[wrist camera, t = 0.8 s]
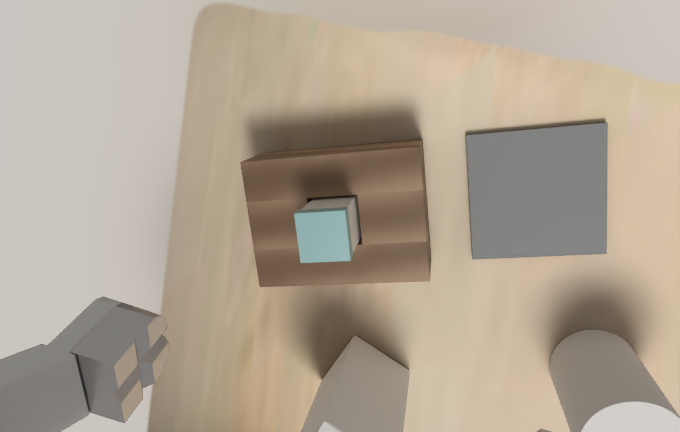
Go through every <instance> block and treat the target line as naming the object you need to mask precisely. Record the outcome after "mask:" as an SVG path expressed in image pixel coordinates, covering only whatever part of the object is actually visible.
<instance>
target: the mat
mask: <svg viewBox="0 0 680 432" xmlns="http://www.w3.org/2000/svg"><path fill="white" fill-rule="evenodd" d="M607 127H608V123H607V122H603V123H591V124H580V125H569V126H558V127H547V128H536V129H525V130H514V131H503V132H492V133H481V134H470V135H466V147H467V166H468V184H469V203H470V221H471V240H472V258H473V259H493V258H517V257H540V256H564V255H588V254H606V249H607Z"/></svg>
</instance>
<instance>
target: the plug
mask: <svg viewBox="0 0 680 432" xmlns="http://www.w3.org/2000/svg"><path fill="white" fill-rule="evenodd" d="M294 218H295V225H296V233H297V240H298V248H299V255H300V263H314V262H336V261H351V259H352V257H353V252H354V250H355V248H356V246H357V244H358V242H359V240H360V238H361V227H360V217H359V207H358V198H357V195H344V196H330V197H315V198H313V199H312V200H311V201H310V202H309V203H308V204H307V205H305V206H304V207H303V208H302V209H301V210H297V211H296V212H295V213H294Z"/></svg>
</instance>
